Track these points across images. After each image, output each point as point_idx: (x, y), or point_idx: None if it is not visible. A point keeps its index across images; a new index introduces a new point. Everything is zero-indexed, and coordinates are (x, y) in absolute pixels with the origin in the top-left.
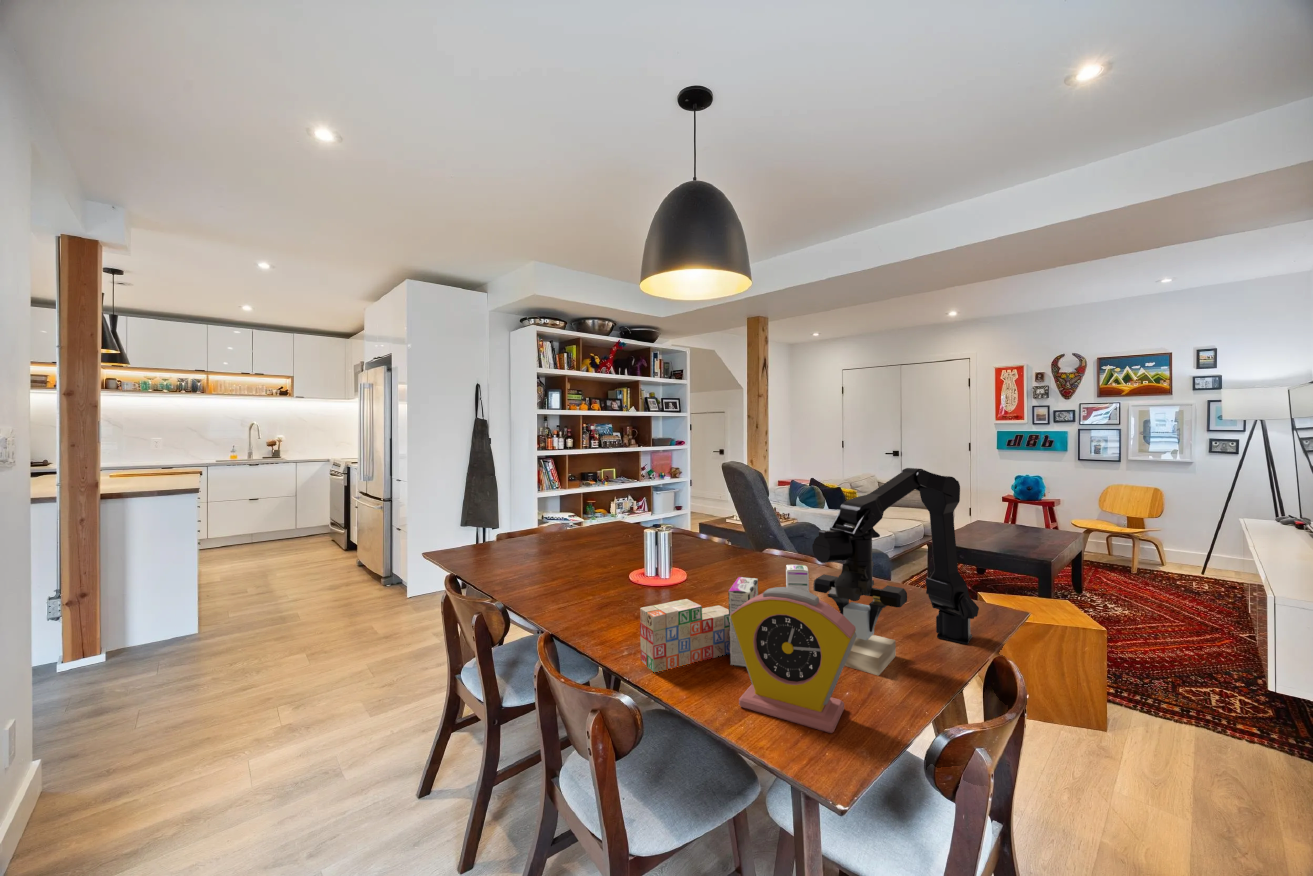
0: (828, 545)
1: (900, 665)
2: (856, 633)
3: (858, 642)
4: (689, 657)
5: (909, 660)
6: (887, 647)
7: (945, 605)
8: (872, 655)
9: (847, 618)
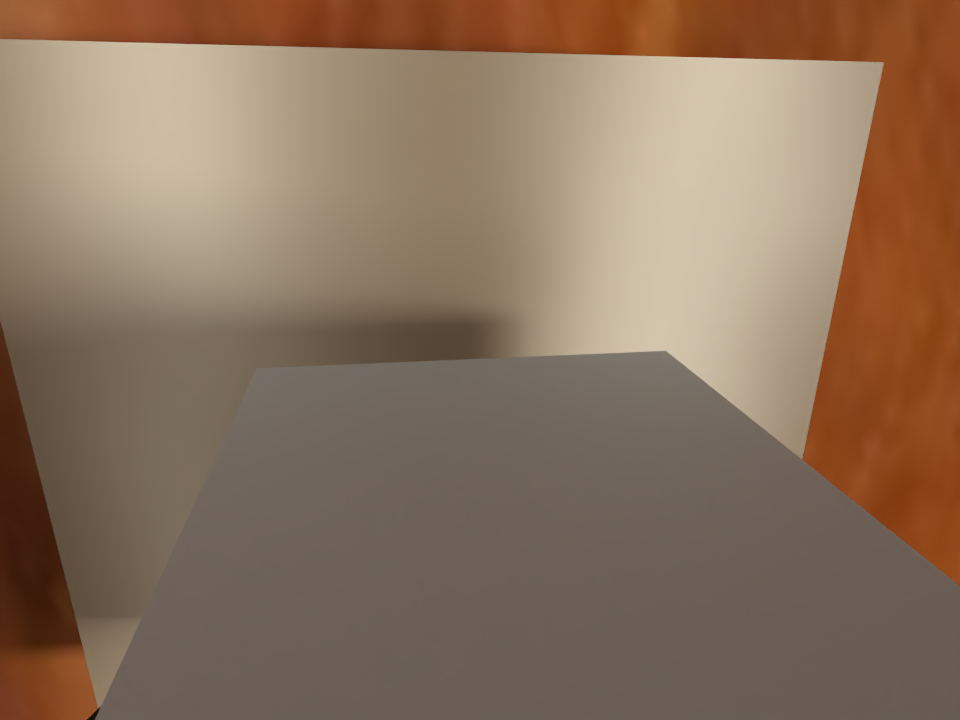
0: None
1: (33, 488)
2: (452, 394)
3: None
4: None
5: (31, 643)
6: (66, 537)
7: None
8: (67, 90)
9: (764, 530)
